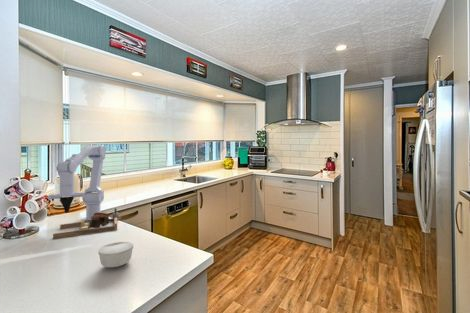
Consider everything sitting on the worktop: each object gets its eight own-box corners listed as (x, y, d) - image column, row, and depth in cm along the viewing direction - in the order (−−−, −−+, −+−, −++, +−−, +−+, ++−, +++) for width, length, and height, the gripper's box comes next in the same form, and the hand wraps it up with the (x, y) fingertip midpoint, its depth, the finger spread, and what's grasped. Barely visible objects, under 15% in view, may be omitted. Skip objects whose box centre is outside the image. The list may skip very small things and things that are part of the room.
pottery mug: (83, 228, 119) (88, 212, 123) (99, 231, 126) (104, 217, 130) (98, 226, 114) (103, 210, 118) (114, 229, 121) (118, 214, 125)
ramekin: (125, 252, 89) (124, 239, 89) (139, 260, 82) (139, 246, 82) (93, 262, 80) (93, 248, 80) (106, 273, 73) (105, 256, 73)
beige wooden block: (82, 226, 121) (82, 218, 121) (89, 225, 122) (89, 217, 122) (80, 232, 111) (80, 223, 111) (87, 231, 113) (87, 222, 113)
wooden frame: (61, 227, 120) (60, 213, 120) (118, 220, 133) (118, 207, 133) (53, 238, 104) (53, 221, 104) (119, 229, 117) (119, 214, 117)
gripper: (46, 187, 106) (46, 216, 106) (83, 185, 113) (83, 212, 113) (50, 185, 113) (50, 212, 113) (84, 183, 119) (85, 209, 119)
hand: (67, 212), depth 113 cm, fingers closed
